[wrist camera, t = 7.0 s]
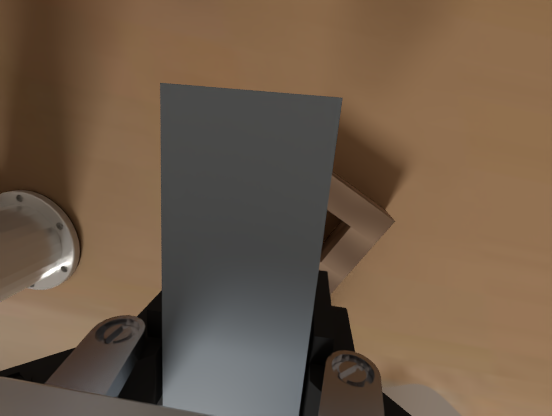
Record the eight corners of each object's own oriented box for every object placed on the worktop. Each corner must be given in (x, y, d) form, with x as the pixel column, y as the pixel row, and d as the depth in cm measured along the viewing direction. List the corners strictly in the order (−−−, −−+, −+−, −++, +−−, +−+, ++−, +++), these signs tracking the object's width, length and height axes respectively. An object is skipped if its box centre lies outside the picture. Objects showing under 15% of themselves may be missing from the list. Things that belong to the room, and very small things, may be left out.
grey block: (251, 112, 15) (160, 82, 6) (324, 118, 14) (342, 97, 6) (235, 355, 18) (163, 561, 9) (293, 365, 18) (274, 588, 9)
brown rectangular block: (274, 338, 36) (269, 362, 33) (206, 291, 36) (193, 310, 32) (385, 210, 31) (395, 221, 27) (306, 152, 30) (304, 155, 27)
